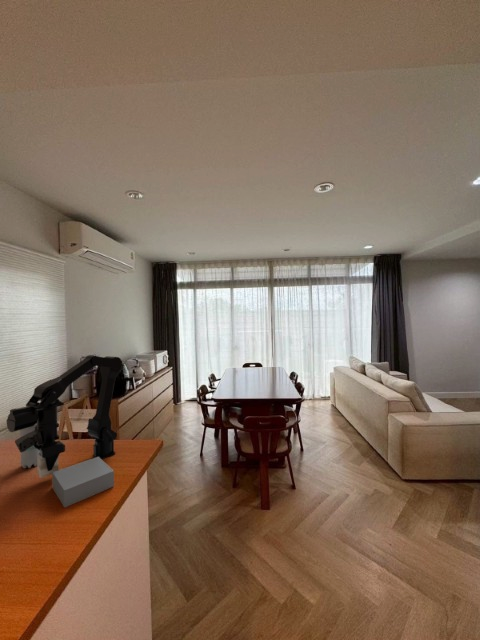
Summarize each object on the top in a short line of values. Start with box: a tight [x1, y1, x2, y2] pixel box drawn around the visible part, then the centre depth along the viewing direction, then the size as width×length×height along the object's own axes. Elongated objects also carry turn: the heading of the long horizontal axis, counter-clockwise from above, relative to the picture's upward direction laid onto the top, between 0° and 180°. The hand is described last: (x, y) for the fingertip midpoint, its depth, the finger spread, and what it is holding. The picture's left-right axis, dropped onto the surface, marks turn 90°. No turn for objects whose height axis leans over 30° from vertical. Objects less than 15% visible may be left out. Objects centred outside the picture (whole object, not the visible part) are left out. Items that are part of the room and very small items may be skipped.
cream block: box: [36, 454, 59, 479], centre depth 93 cm, size 5×5×6 cm
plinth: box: [51, 457, 115, 508], centre depth 89 cm, size 14×14×5 cm
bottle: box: [19, 424, 40, 469], centre depth 103 cm, size 7×7×20 cm
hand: (47, 467), depth 93 cm, fingers closed on cream block, 5 cm apart
